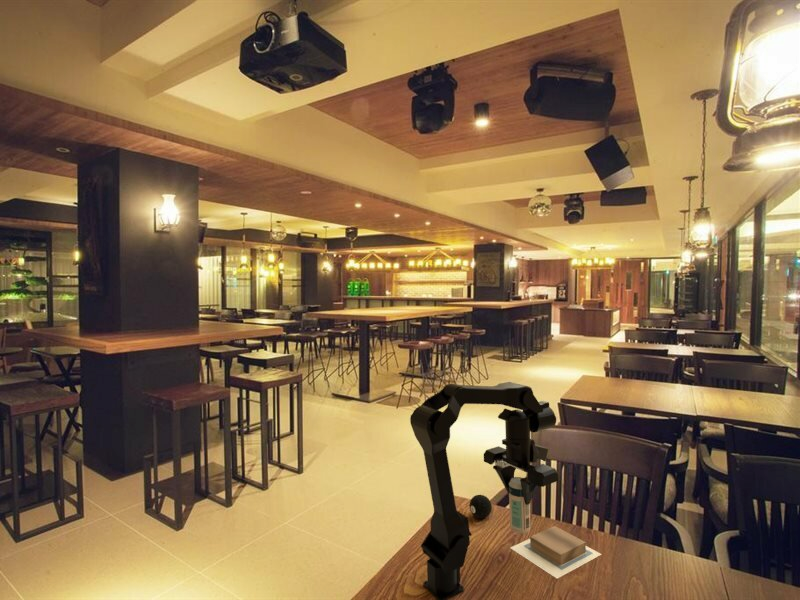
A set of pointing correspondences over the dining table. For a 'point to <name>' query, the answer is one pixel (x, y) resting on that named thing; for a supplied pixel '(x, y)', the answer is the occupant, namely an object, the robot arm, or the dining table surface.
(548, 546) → the base block
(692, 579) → the dining table surface
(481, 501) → the billiard ball
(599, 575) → the dining table surface
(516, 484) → the beer can
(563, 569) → the white flat square slab
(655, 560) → the dining table surface
